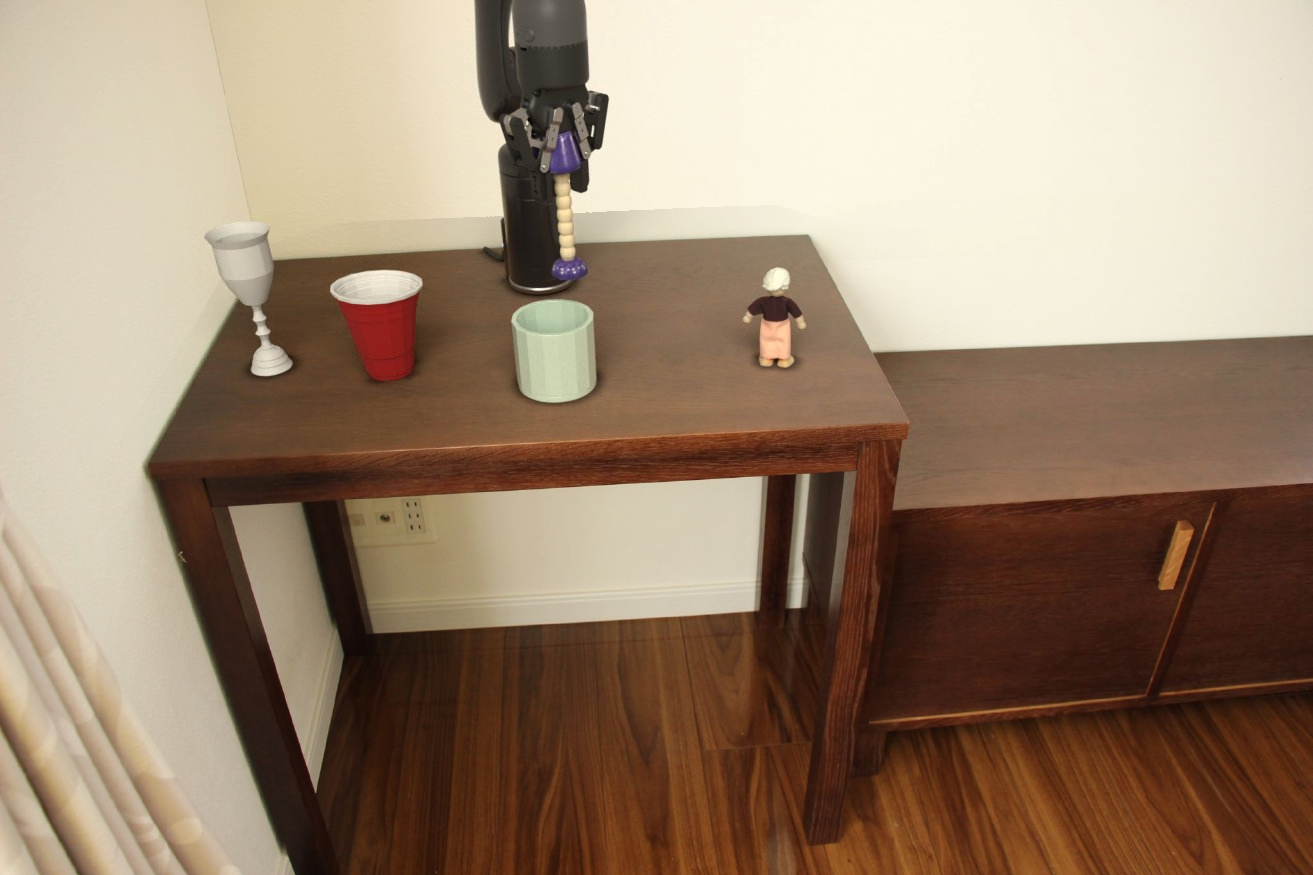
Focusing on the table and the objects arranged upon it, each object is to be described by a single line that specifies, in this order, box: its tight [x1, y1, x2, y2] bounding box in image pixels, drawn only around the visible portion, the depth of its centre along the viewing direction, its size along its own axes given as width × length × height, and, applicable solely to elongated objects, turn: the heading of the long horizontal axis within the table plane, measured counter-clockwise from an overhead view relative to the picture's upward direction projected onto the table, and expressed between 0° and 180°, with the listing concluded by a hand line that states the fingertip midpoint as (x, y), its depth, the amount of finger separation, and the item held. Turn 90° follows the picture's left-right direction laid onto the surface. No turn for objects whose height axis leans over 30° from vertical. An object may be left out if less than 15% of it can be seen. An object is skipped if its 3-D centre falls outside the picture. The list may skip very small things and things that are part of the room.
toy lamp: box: [542, 131, 589, 281], centre depth 111 cm, size 5×5×17 cm
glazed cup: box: [510, 298, 598, 404], centre depth 119 cm, size 10×10×9 cm
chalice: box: [203, 220, 294, 377], centre depth 121 cm, size 7×7×18 cm
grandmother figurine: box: [742, 266, 807, 368], centre depth 122 cm, size 8×4×13 cm, turn 89°
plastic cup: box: [329, 269, 423, 382], centre depth 121 cm, size 11×11×12 cm
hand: (561, 196), depth 110 cm, fingers closed on toy lamp, 4 cm apart
